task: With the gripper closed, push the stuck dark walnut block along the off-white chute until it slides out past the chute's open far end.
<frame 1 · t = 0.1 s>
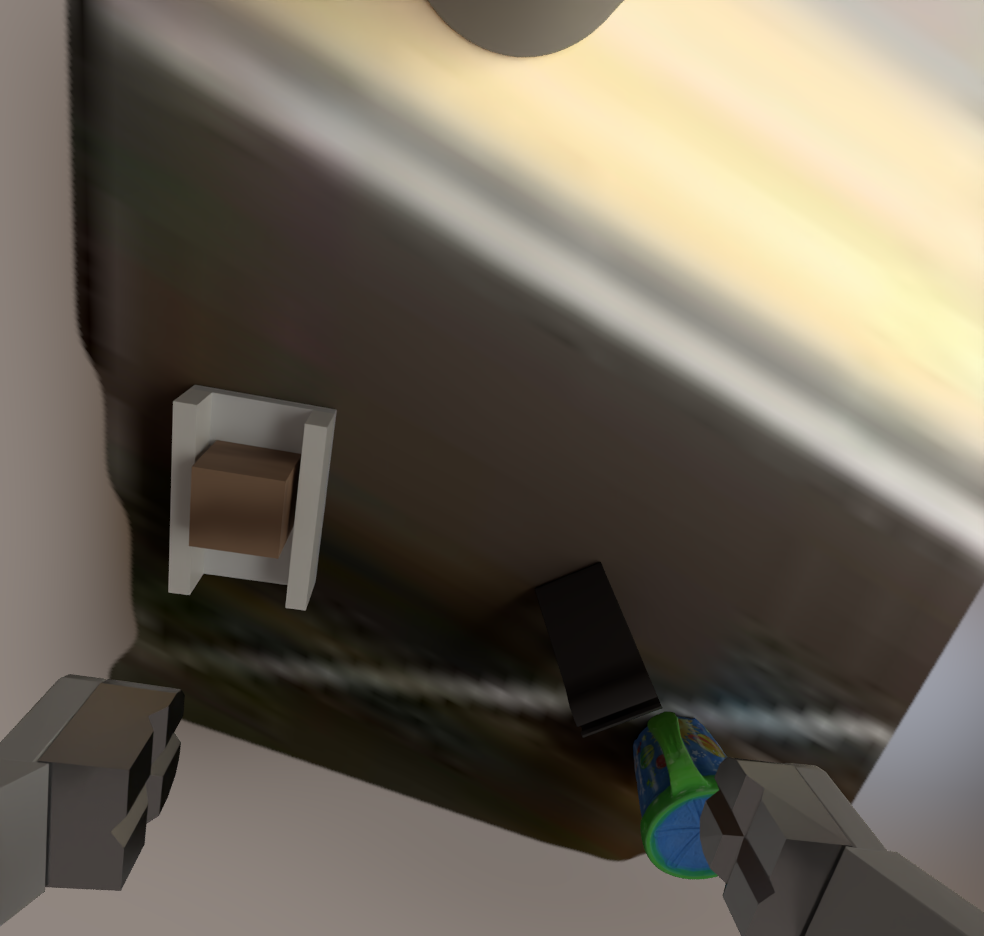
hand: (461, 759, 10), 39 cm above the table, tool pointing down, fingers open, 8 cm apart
chute: (259, 490, 49), on the table
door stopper: (584, 612, 56), on the table
snack cup: (668, 739, 62), on the table
walnut block: (247, 498, 46), point 4 cm above the table, slide at 0.0 cm
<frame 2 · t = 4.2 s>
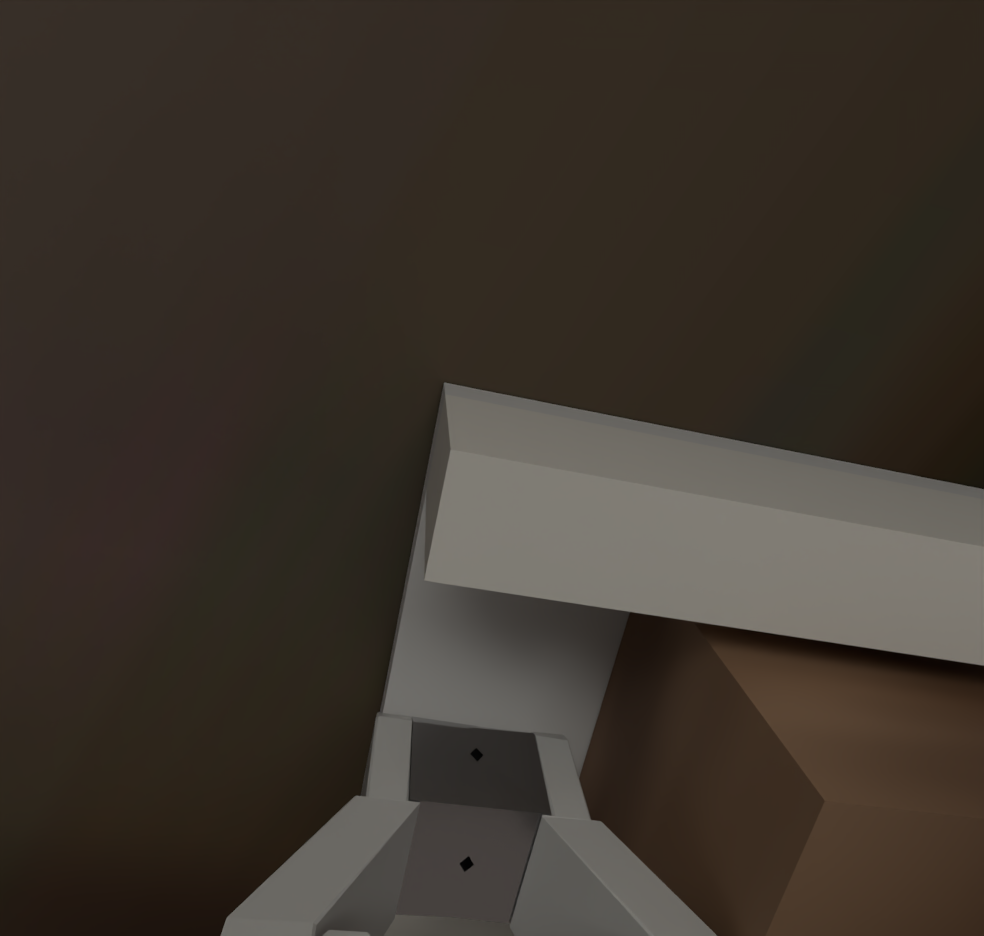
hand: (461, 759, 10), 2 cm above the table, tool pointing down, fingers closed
chute: (767, 700, 13), on the table
walnut block: (838, 851, 9), point 4 cm above the table, slide at 0.2 cm, touching gripper
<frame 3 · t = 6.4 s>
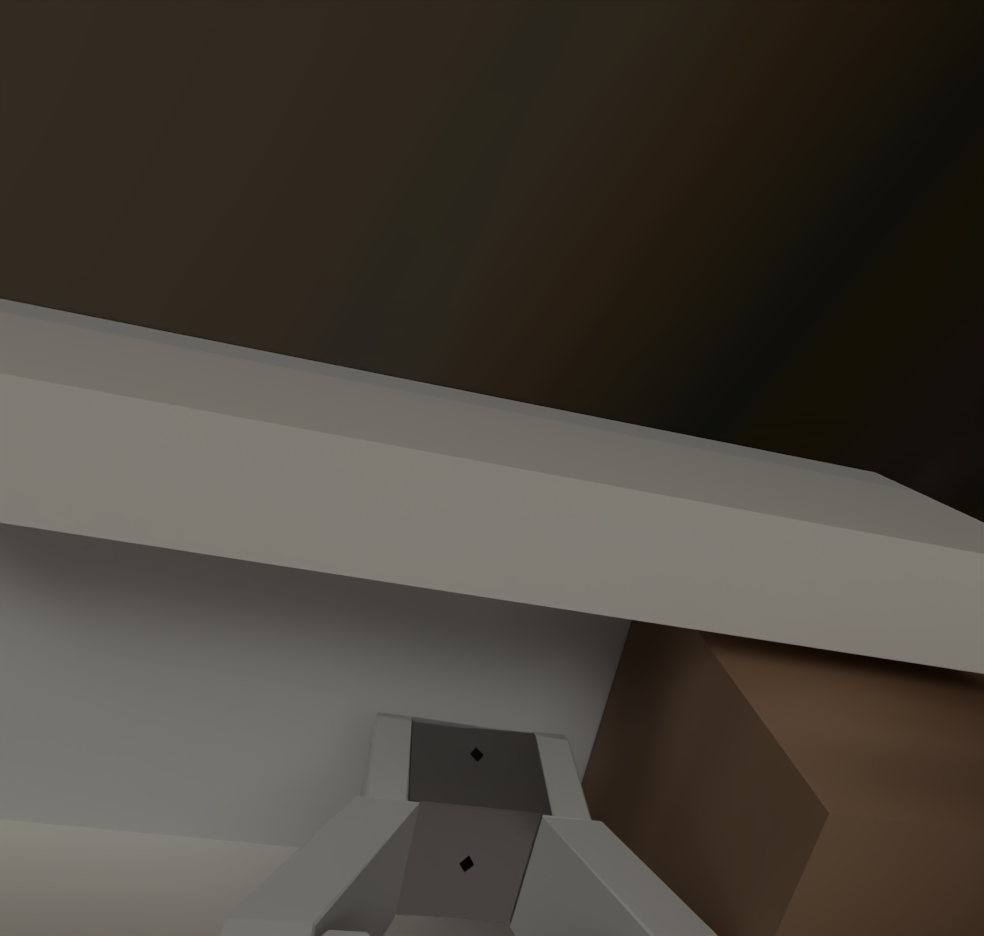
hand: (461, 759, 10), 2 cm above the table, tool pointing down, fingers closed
chute: (405, 657, 12), on the table
walnut block: (842, 860, 9), point 4 cm above the table, slide at 7.5 cm, touching gripper
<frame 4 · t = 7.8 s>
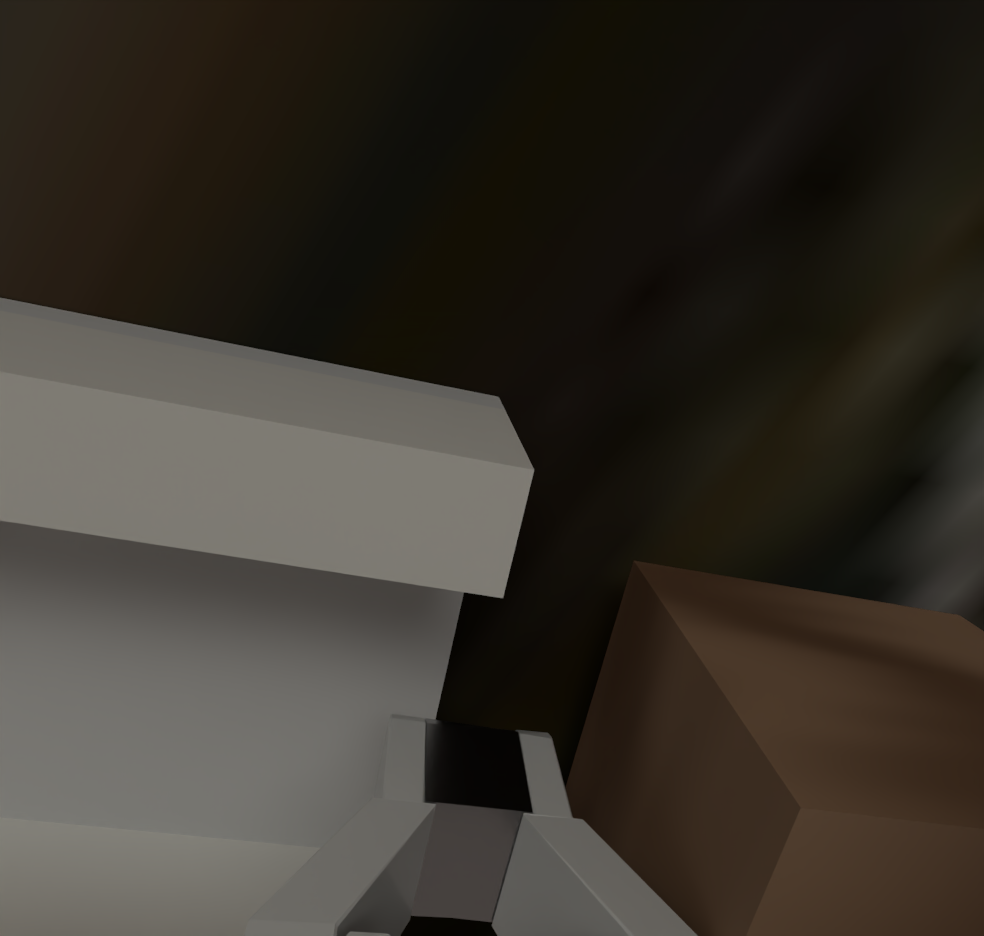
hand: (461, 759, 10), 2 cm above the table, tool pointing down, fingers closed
walnut block: (825, 857, 9), point 4 cm above the table, slide at 14.1 cm, touching gripper
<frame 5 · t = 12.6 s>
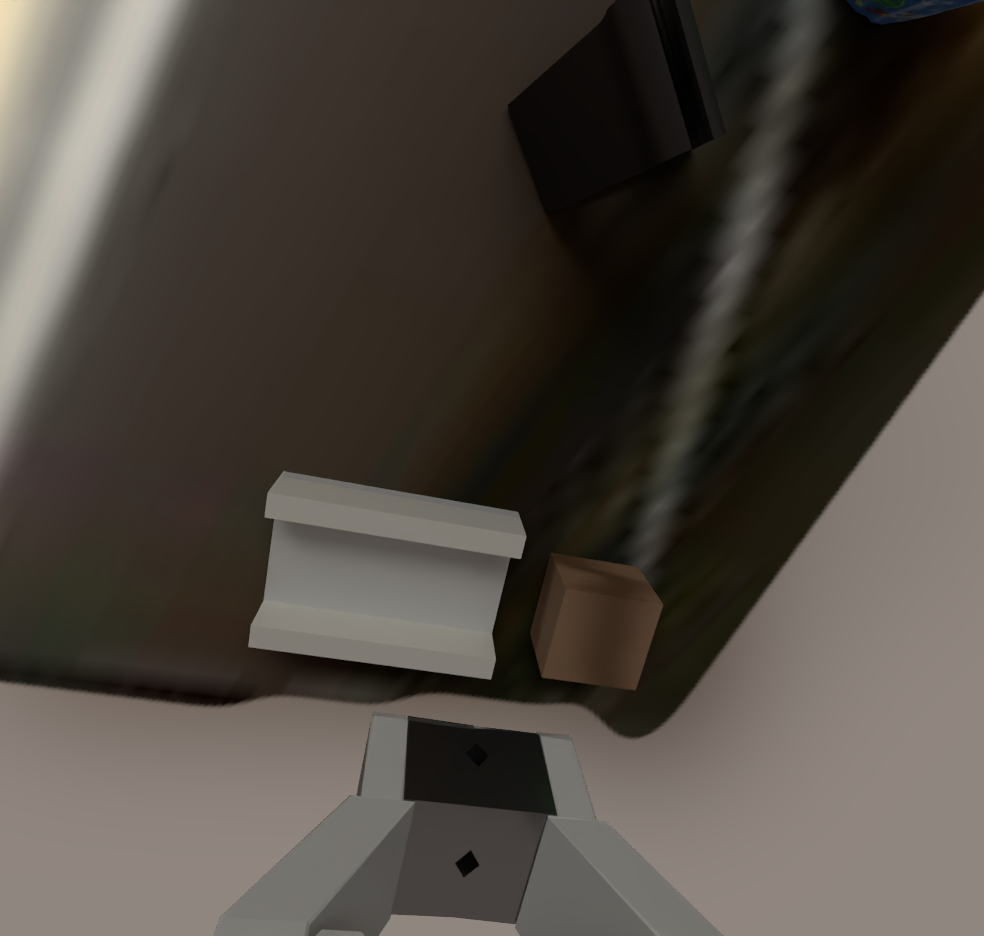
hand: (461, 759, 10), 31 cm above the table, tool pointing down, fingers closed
chute: (390, 562, 42), on the table
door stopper: (600, 129, 36), on the table
walnut block: (592, 619, 41), point 4 cm above the table, slide at 14.0 cm
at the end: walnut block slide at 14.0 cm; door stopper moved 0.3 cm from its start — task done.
